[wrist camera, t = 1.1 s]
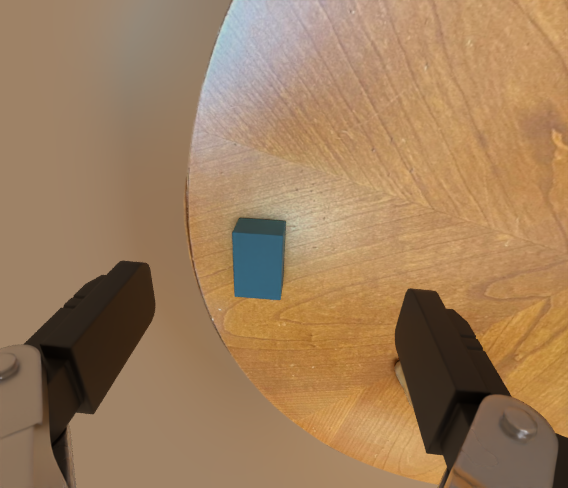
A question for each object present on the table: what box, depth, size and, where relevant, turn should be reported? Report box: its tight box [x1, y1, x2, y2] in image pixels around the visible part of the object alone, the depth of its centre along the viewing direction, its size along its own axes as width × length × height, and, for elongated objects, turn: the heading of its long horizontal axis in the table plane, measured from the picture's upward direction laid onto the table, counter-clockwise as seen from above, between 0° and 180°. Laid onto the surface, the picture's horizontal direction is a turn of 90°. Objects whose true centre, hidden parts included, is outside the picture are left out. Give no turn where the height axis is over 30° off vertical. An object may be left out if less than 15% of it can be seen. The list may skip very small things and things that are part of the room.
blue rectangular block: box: [232, 218, 286, 300], centre depth 32 cm, size 7×4×3 cm, turn 178°
